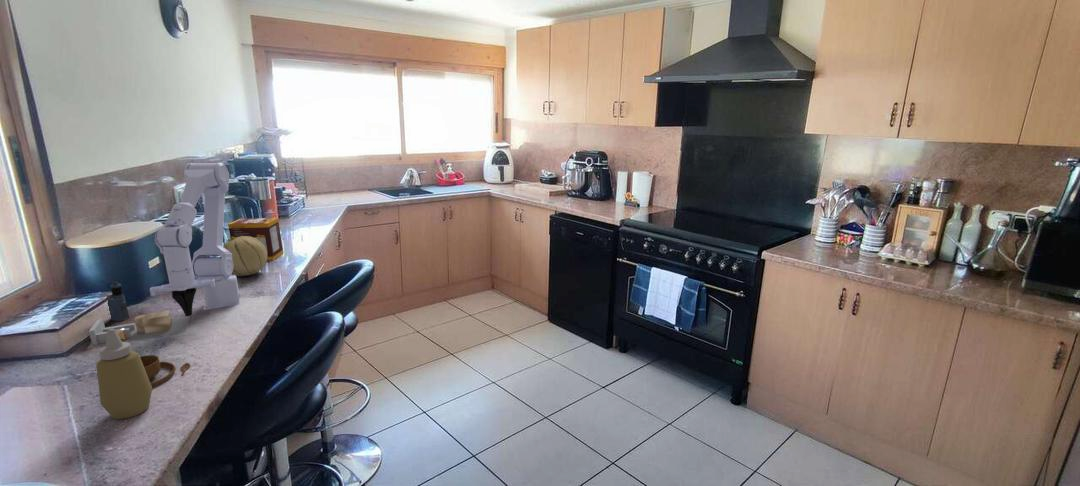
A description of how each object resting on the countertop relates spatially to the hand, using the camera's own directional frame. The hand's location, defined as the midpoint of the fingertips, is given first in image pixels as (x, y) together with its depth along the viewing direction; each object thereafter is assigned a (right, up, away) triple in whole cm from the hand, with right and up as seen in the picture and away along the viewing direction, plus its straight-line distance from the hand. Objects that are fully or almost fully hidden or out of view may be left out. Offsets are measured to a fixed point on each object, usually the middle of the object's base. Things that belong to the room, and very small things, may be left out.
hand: (189, 314), depth 138 cm
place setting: (+7, -11, -23) cm, 26 cm away
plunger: (-12, -5, -9) cm, 15 cm away
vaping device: (-22, -2, +4) cm, 23 cm away
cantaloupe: (-9, +8, +43) cm, 45 cm away
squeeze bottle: (+16, -14, -38) cm, 44 cm away
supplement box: (-17, +14, +64) cm, 68 cm away
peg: (-6, -3, -3) cm, 8 cm away
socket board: (-10, -4, -4) cm, 11 cm away
